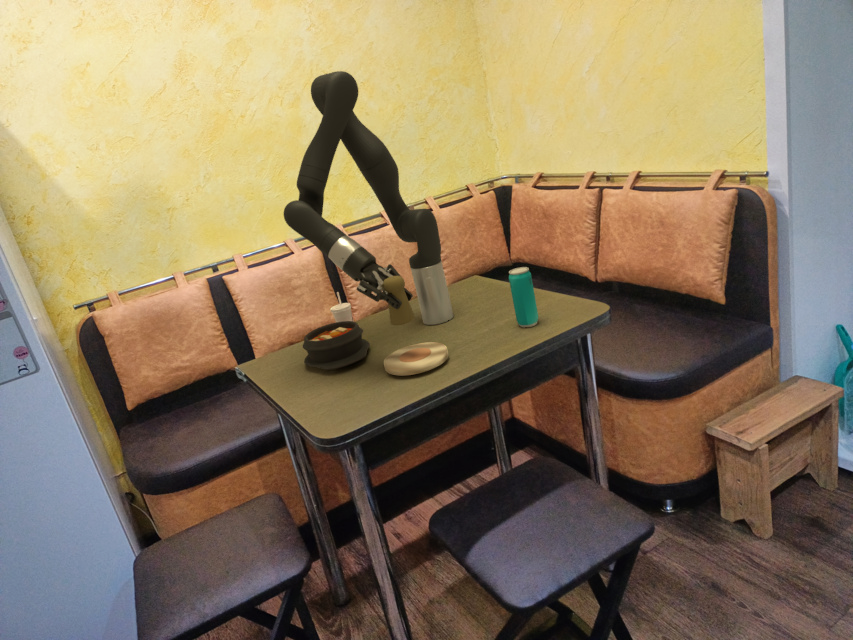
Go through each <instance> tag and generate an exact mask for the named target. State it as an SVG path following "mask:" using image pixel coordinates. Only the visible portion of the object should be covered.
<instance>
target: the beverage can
mask: <svg viewBox="0 0 853 640" xmlns="http://www.w3.org/2000/svg"><path fill="white" fill-rule="evenodd" d="M508 274H509V275H508V281H509V287H510V291H511V298H512V303H513V308H514V313H515V320H516V322H517V324H518V326H520V327H521V328H525V327H527V328H531V327H534V326H537V324H538V321H539V312H538V305H537V300H536V295H535V289H534V283H533V278H532V273H531V272H530V269H529V267H527V266H521V267H516V268H512V269H510V270H509V271H508ZM525 329H526V328H525Z"/></svg>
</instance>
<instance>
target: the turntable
mask: <svg viewBox="0 0 853 640" xmlns="http://www.w3.org/2000/svg"><path fill="white" fill-rule="evenodd" d="M448 358H449V351H448V347H447V346H446V345H445V344H443V343H441V342H434V341H432V342H431V341H430V342H429V341H428V342H427V341H426V342H420V343H419V342H418V343H415V344H411V345H407V346H403V347H401V348H399V349H396V350H394V351H393V352H391V353H390V354H388V355H387V356H386V357H385V358H384V359H383V365H384V366H383V367H384V370H385V372H386V373H388V374H389V375H391V376H392V375H394V376H411V375H412V376H413V375H416V374H421V373H425V372H428V371H430V370H433V369H435V368H437V367H439V366H441V365H442V364H443V363H445V362H446V361H447V360H448Z"/></svg>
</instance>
